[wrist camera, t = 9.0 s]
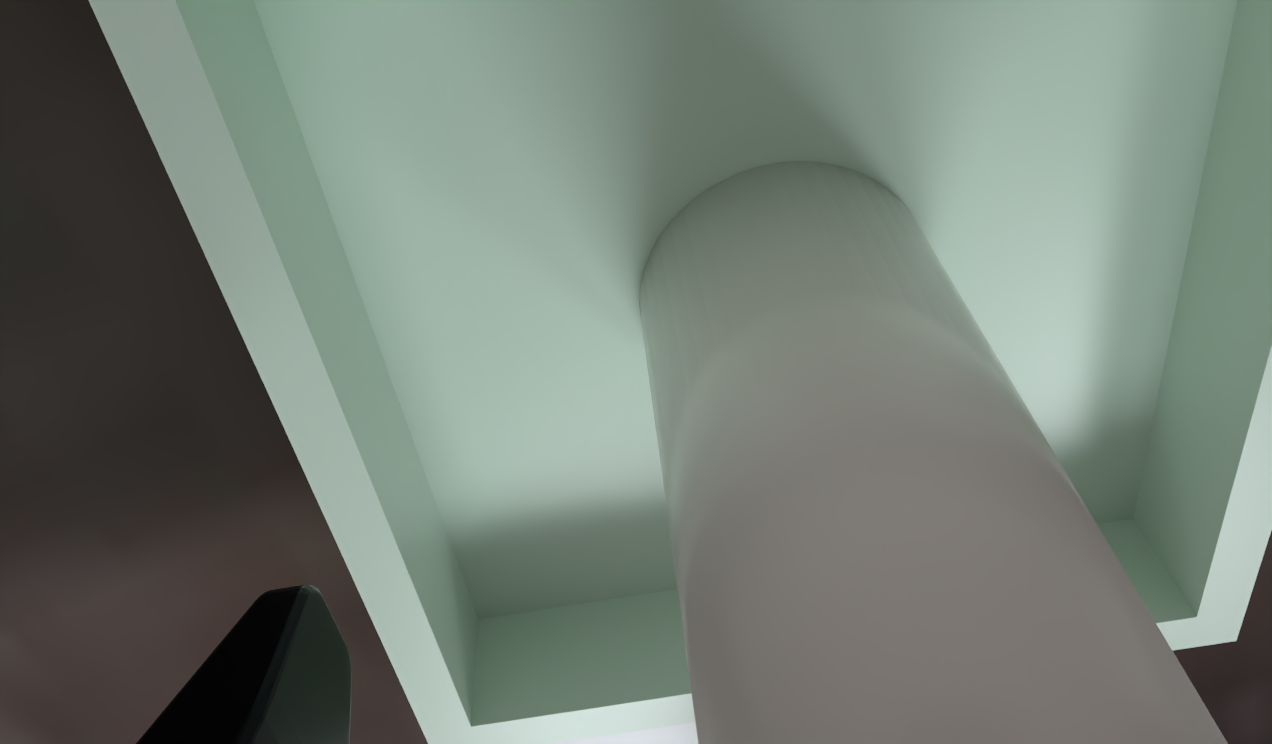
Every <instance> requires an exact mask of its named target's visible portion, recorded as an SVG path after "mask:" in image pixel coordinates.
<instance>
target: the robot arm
mask: <svg viewBox="0 0 1272 744" xmlns="http://www.w3.org/2000/svg"><path fill="white" fill-rule="evenodd" d="M351 684H352V668H351V659H350V654H349V650H348V647H347V645H346V642H345V640H344V638H343V636H342V634H341V632H340V630H339V628H338V626H337V624H336V622H335V620H334V618H333V616H332V614H331V612H330V609H329V607H328V605H327V603H326V601H325V599H324V597H323V595H322V594H321V592H320V591H319V590H318V589H317V588H316V587H314V586H312V585H301V586H294V587H288V588H282V589H275V590H270V591H267V592H265V593H264V594H262V595H261V596H260V597H259V598H258V599H257V600H256V601H255V602H254V603H253V604H252V606H251V607H250V608H249V609H248V610H247V612H246V613H245V614H244V615H243V616H242V618H241V619H240V620H239V621H238V622H237V623H236V625H235V626H234V627H233V628H232V629H231V631H230V632H229V633H228V634H227V635H226V637H225V638H224V639H223V640H222V641H221V643H220V644H219V645H218V646H217V647H216V649H215V650H214V651H213V652H212V653H211V655H210V656H209V657H208V658H207V659H206V661H205V662H204V663H203V664H202V665H201V667H200V668H199V669H198V670H197V671H196V673H195V674H194V675H193V676H192V677H191V679H190V680H189V681H188V682H187V683H186V684H185V686H184V687H183V688H182V689H181V690H180V692H179V693H178V694H177V695H176V696H175V698H174V699H173V700H172V701H171V702H170V704H169V705H168V706H167V707H166V708H165V710H164V711H163V712H162V713H161V714H160V716H159V717H158V718H157V719H156V720H155V722H154V723H153V724H152V725H151V726H150V728H149V729H148V730H147V731H146V732H145V734H144V735H143V736H142V737H141V738H140V740H139V741H138V742H137V743H136V744H349V739H350V711H351Z"/></svg>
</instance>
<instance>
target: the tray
mask: <svg viewBox="0 0 1272 744" xmlns="http://www.w3.org/2000/svg"><path fill="white" fill-rule="evenodd" d="M89 3H90V5H91V7H92V9H93V11H94V13H95V16H96V18H97V20H98V22H99V24H100V27H101V29H102V31H103V33H104V35H105V38H106V40H107V42H108V44H109V46H110V48H111V51H112V53H113V55H114V57H115V59H116V62H117V64H118V66H119V68H120V70H121V73H122V75H123V77H124V79H125V81H126V83H127V86H128V88H129V90H130V92H131V94H132V97H133V99H134V101H135V103H136V105H137V108H138V110H139V112H140V114H141V116H142V118H143V121H144V123H145V125H146V127H147V129H148V132H149V134H150V136H151V138H152V140H153V143H154V145H155V147H156V149H157V151H158V154H159V156H160V158H161V160H162V162H163V164H164V167H165V169H166V171H167V173H168V175H169V178H170V180H171V182H172V184H173V186H174V189H175V191H176V193H177V195H178V197H179V199H180V202H181V204H182V206H183V208H184V210H185V213H186V215H187V217H188V219H189V221H190V224H191V226H192V228H193V230H194V232H195V234H196V237H197V239H198V241H199V243H200V245H201V248H202V250H203V252H204V254H205V256H206V259H207V261H208V263H209V265H210V267H211V269H212V272H213V274H214V276H215V278H216V280H217V283H218V285H219V287H220V289H221V291H222V294H223V296H224V298H225V300H226V302H227V304H228V307H229V309H230V311H231V313H232V315H233V318H234V320H235V322H236V324H237V326H238V329H239V331H240V333H241V335H242V337H243V339H244V342H245V344H246V346H247V348H248V350H249V353H250V355H251V357H252V359H253V361H254V364H255V366H256V368H257V370H258V372H259V374H260V377H261V379H262V381H263V383H264V385H265V388H266V390H267V392H268V394H269V396H270V399H271V401H272V403H273V405H274V407H275V409H276V412H277V414H278V416H279V418H280V420H281V423H282V425H283V427H284V429H285V431H286V434H287V436H288V438H289V440H290V442H291V445H292V447H293V449H294V451H295V453H296V455H297V458H298V460H299V462H300V464H301V466H302V469H303V471H304V473H305V475H306V477H307V480H308V482H309V484H310V486H311V488H312V490H313V493H314V495H315V497H316V499H317V501H318V504H319V506H320V508H321V510H322V512H323V515H324V517H325V519H326V521H327V523H328V525H329V528H330V530H331V532H332V534H333V536H334V539H335V541H336V543H337V545H338V547H339V550H340V552H341V554H342V556H343V558H344V560H345V563H346V565H347V567H348V569H349V571H350V574H351V576H352V578H353V580H354V582H355V585H356V587H357V589H358V591H359V593H360V595H361V598H362V600H363V602H364V604H365V606H366V609H367V611H368V613H369V615H370V617H371V620H372V622H373V624H374V626H375V628H376V630H377V633H378V635H379V637H380V639H381V641H382V644H383V646H384V648H385V650H386V652H387V655H388V657H389V659H390V661H391V663H392V665H393V668H394V670H395V672H396V674H397V676H398V679H399V681H400V683H401V685H402V687H403V690H404V692H405V694H406V696H407V698H408V700H409V703H410V705H411V707H412V709H413V711H414V714H415V716H416V718H417V720H418V722H419V725H420V727H421V729H422V731H423V733H424V735H425V738H426V740H427V742H428V744H554V743H560V742H567V741H574V740H580V739H587V738H593V737H600V736H607V735H613V734H620V733H627V732H633V731H640V730H647V729H653V728H660V727H667V726H673V725H680V724H687V723H693V722H695V715H694V707H693V700H692V693H691V685H690V678H689V670H688V663H687V656H686V648H685V641H684V634H683V626H682V619H681V611H680V604H679V597H678V589H677V582H676V575H675V567H674V560H673V552H672V545H671V538H670V530H669V523H668V516H667V508H666V501H665V494H664V486H663V479H662V471H661V464H660V457H659V449H658V442H657V435H656V427H655V420H654V412H653V405H652V398H651V390H650V383H649V376H648V368H647V361H646V353H645V346H644V339H643V331H642V324H641V316H640V305H639V299H640V285H641V281H642V276H643V272H644V268H645V265H646V263H647V260H648V258H649V255H650V253H651V251H652V249H653V247H654V245H655V243H656V242H657V240H658V238H659V236H660V235H661V234H662V232H663V231H664V230H665V228H666V227H667V225H668V224H669V223H670V222H671V220H672V219H673V218H674V217H675V216H676V215H677V214H678V213H679V212H680V211H681V210H682V209H683V208H684V207H685V206H686V205H688V204H689V203H690V202H691V201H692V200H694V199H695V198H696V197H697V196H699V195H700V194H702V193H703V192H705V191H706V190H708V189H709V188H711V187H712V186H714V185H716V184H718V183H720V182H722V181H724V180H726V179H728V178H730V177H732V176H734V175H736V174H739V173H742V172H745V171H748V170H751V169H754V168H758V167H762V166H766V165H771V164H776V163H786V162H795V161H796V162H820V163H827V164H834V165H838V166H842V167H845V168H849V169H852V170H855V171H857V172H860V173H862V174H864V175H866V176H869V177H871V178H873V179H874V180H876V181H877V182H879V183H880V184H882V185H884V186H885V187H887V188H888V189H889V190H890V191H891V192H892V193H894V194H895V195H896V196H897V197H898V198H899V199H900V200H901V201H902V202H903V204H904V205H905V206H906V207H907V208H908V210H909V211H910V212H911V214H912V216H913V217H914V219H915V221H916V222H917V224H918V226H919V227H920V229H921V231H922V232H923V234H924V236H925V237H926V239H927V241H928V242H929V244H930V246H931V247H932V249H933V251H934V252H935V254H936V256H937V257H938V259H939V261H940V262H941V264H942V266H943V267H944V269H945V271H946V272H947V274H948V276H949V278H950V279H951V281H952V283H953V284H954V286H955V288H956V289H957V291H958V293H959V294H960V296H961V298H962V299H963V301H964V303H965V304H966V306H967V308H968V309H969V311H970V313H971V314H972V316H973V318H974V319H975V321H976V323H977V324H978V326H979V328H980V329H981V331H982V333H983V334H984V336H985V338H986V339H987V341H988V343H989V345H990V346H991V348H992V350H993V351H994V353H995V355H996V356H997V358H998V360H999V361H1000V363H1001V365H1002V366H1003V368H1004V370H1005V371H1006V373H1007V375H1008V376H1009V378H1010V380H1011V381H1012V383H1013V385H1014V386H1015V388H1016V390H1017V391H1018V393H1019V395H1020V396H1021V398H1022V400H1023V401H1024V403H1025V405H1026V406H1027V408H1028V410H1029V411H1030V413H1031V415H1032V417H1033V418H1034V420H1035V422H1036V423H1037V425H1038V427H1039V428H1040V430H1041V432H1042V433H1043V435H1044V437H1045V438H1046V440H1047V442H1048V443H1049V445H1050V447H1051V448H1052V450H1053V452H1054V453H1055V455H1056V457H1057V458H1058V460H1059V462H1060V463H1061V465H1062V467H1063V468H1064V470H1065V472H1066V473H1067V475H1068V477H1069V478H1070V480H1071V482H1072V483H1073V485H1074V487H1075V489H1076V490H1077V492H1078V494H1079V495H1080V497H1081V499H1082V500H1083V502H1084V504H1085V505H1086V507H1087V509H1088V510H1089V512H1090V514H1091V515H1092V517H1093V519H1094V520H1095V522H1096V524H1097V525H1098V527H1099V529H1100V530H1101V532H1102V534H1103V535H1104V537H1105V539H1106V540H1107V542H1108V544H1109V545H1110V547H1111V549H1112V550H1113V552H1114V554H1115V555H1116V557H1117V559H1118V561H1119V562H1120V564H1121V566H1122V567H1123V569H1124V571H1125V572H1126V574H1127V576H1128V577H1129V579H1130V581H1131V582H1132V584H1133V586H1134V587H1135V589H1136V591H1137V592H1138V594H1139V596H1140V597H1141V599H1142V601H1143V602H1144V604H1145V606H1146V607H1147V609H1148V611H1149V612H1150V614H1151V616H1152V617H1153V619H1154V621H1155V622H1156V624H1157V626H1158V628H1159V629H1160V631H1161V633H1162V634H1163V636H1164V638H1165V639H1166V641H1167V643H1168V644H1169V646H1170V648H1171V649H1172V651H1173V650H1179V649H1186V648H1193V647H1199V646H1206V645H1213V644H1219V643H1226V642H1233V641H1237V637H1238V634H1239V631H1240V628H1241V625H1242V622H1243V618H1244V615H1245V612H1246V609H1247V606H1248V603H1249V599H1250V596H1251V593H1252V590H1253V587H1254V584H1255V581H1256V577H1257V574H1258V571H1259V568H1260V565H1261V562H1262V558H1263V555H1264V552H1265V549H1266V546H1267V543H1268V540H1269V536H1270V533H1271V530H1272V0H89Z"/></svg>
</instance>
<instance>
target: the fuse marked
mask: <svg viewBox="0 0 1272 744" xmlns="http://www.w3.org/2000/svg"><path fill="white" fill-rule="evenodd" d="M639 305H640V316H641V324H642V331H643V339H644V346H645V353H646V361H647V368H648V376H649V383H650V390H651V398H652V405H653V412H654V420H655V427H656V435H657V442H658V449H659V457H660V464H661V471H662V479H663V486H664V494H665V501H666V508H667V516H668V523H669V530H670V538H671V545H672V552H673V560H674V567H675V575H676V582H677V589H678V597H679V604H680V611H681V619H682V626H683V634H684V641H685V648H686V656H687V663H688V670H689V678H690V685H691V693H692V700H693V707H694V715H695V722H696V729H697V737H698V744H1228V743H1227V741H1226V740H1225V738H1224V736H1223V735H1222V733H1221V731H1220V730H1219V728H1218V726H1217V725H1216V723H1215V721H1214V720H1213V718H1212V716H1211V715H1210V713H1209V711H1208V710H1207V708H1206V706H1205V705H1204V703H1203V701H1202V700H1201V698H1200V696H1199V694H1198V693H1197V691H1196V689H1195V688H1194V686H1193V684H1192V683H1191V681H1190V679H1189V678H1188V676H1187V674H1186V673H1185V671H1184V669H1183V668H1182V666H1181V664H1180V663H1179V661H1178V659H1177V658H1176V656H1175V654H1174V653H1173V651H1172V649H1171V648H1170V646H1169V644H1168V643H1167V641H1166V639H1165V638H1164V636H1163V634H1162V633H1161V631H1160V629H1159V628H1158V626H1157V624H1156V622H1155V621H1154V619H1153V617H1152V616H1151V614H1150V612H1149V611H1148V609H1147V607H1146V606H1145V604H1144V602H1143V601H1142V599H1141V597H1140V596H1139V594H1138V592H1137V591H1136V589H1135V587H1134V586H1133V584H1132V582H1131V581H1130V579H1129V577H1128V576H1127V574H1126V572H1125V571H1124V569H1123V567H1122V566H1121V564H1120V562H1119V561H1118V559H1117V557H1116V555H1115V554H1114V552H1113V550H1112V549H1111V547H1110V545H1109V544H1108V542H1107V540H1106V539H1105V537H1104V535H1103V534H1102V532H1101V530H1100V529H1099V527H1098V525H1097V524H1096V522H1095V520H1094V519H1093V517H1092V515H1091V514H1090V512H1089V510H1088V509H1087V507H1086V505H1085V504H1084V502H1083V500H1082V499H1081V497H1080V495H1079V494H1078V492H1077V490H1076V489H1075V487H1074V485H1073V483H1072V482H1071V480H1070V478H1069V477H1068V475H1067V473H1066V472H1065V470H1064V468H1063V467H1062V465H1061V463H1060V462H1059V460H1058V458H1057V457H1056V455H1055V453H1054V452H1053V450H1052V448H1051V447H1050V445H1049V443H1048V442H1047V440H1046V438H1045V437H1044V435H1043V433H1042V432H1041V430H1040V428H1039V427H1038V425H1037V423H1036V422H1035V420H1034V418H1033V417H1032V415H1031V413H1030V411H1029V410H1028V408H1027V406H1026V405H1025V403H1024V401H1023V400H1022V398H1021V396H1020V395H1019V393H1018V391H1017V390H1016V388H1015V386H1014V385H1013V383H1012V381H1011V380H1010V378H1009V376H1008V375H1007V373H1006V371H1005V370H1004V368H1003V366H1002V365H1001V363H1000V361H999V360H998V358H997V356H996V355H995V353H994V351H993V350H992V348H991V346H990V345H989V343H988V341H987V339H986V338H985V336H984V334H983V333H982V331H981V329H980V328H979V326H978V324H977V323H976V321H975V319H974V318H973V316H972V314H971V313H970V311H969V309H968V308H967V306H966V304H965V303H964V301H963V299H962V298H961V296H960V294H959V293H958V291H957V289H956V288H955V286H954V284H953V283H952V281H951V279H950V278H949V276H948V274H947V272H946V271H945V269H944V267H943V266H942V264H941V262H940V261H939V259H938V257H937V256H936V254H935V252H934V251H933V249H932V247H931V246H930V244H929V242H928V241H927V239H926V237H925V236H924V234H923V232H922V231H921V229H920V227H919V226H918V224H917V222H916V221H915V219H914V217H913V216H912V214H911V212H910V211H909V210H908V208H907V207H906V206H905V205H904V204H903V202H902V201H901V200H900V199H899V198H898V197H897V196H896V195H895V194H894V193H892V192H891V191H890V190H889V189H888V188H887V187H885V186H884V185H882V184H880V183H879V182H877V181H876V180H874V179H873V178H871V177H869V176H866V175H864V174H862V173H860V172H857V171H855V170H852V169H849V168H845V167H842V166H838V165H834V164H827V163H820V162H796V161H795V162H786V163H776V164H771V165H766V166H762V167H758V168H754V169H751V170H748V171H745V172H742V173H739V174H736V175H734V176H732V177H730V178H728V179H726V180H724V181H722V182H720V183H718V184H716V185H714V186H712V187H711V188H709V189H708V190H706V191H705V192H703V193H702V194H700V195H699V196H697V197H696V198H695V199H694V200H692V201H691V202H690V203H689V204H688V205H686V206H685V207H684V208H683V209H682V210H681V211H680V212H679V213H678V214H677V215H676V216H675V217H674V218H673V219H672V220H671V222H670V223H669V224H668V225H667V227H666V228H665V230H664V231H663V232H662V234H661V235H660V236H659V238H658V240H657V242H656V243H655V245H654V247H653V249H652V251H651V253H650V255H649V258H648V260H647V263H646V265H645V268H644V272H643V276H642V281H641V285H640V299H639Z"/></svg>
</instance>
